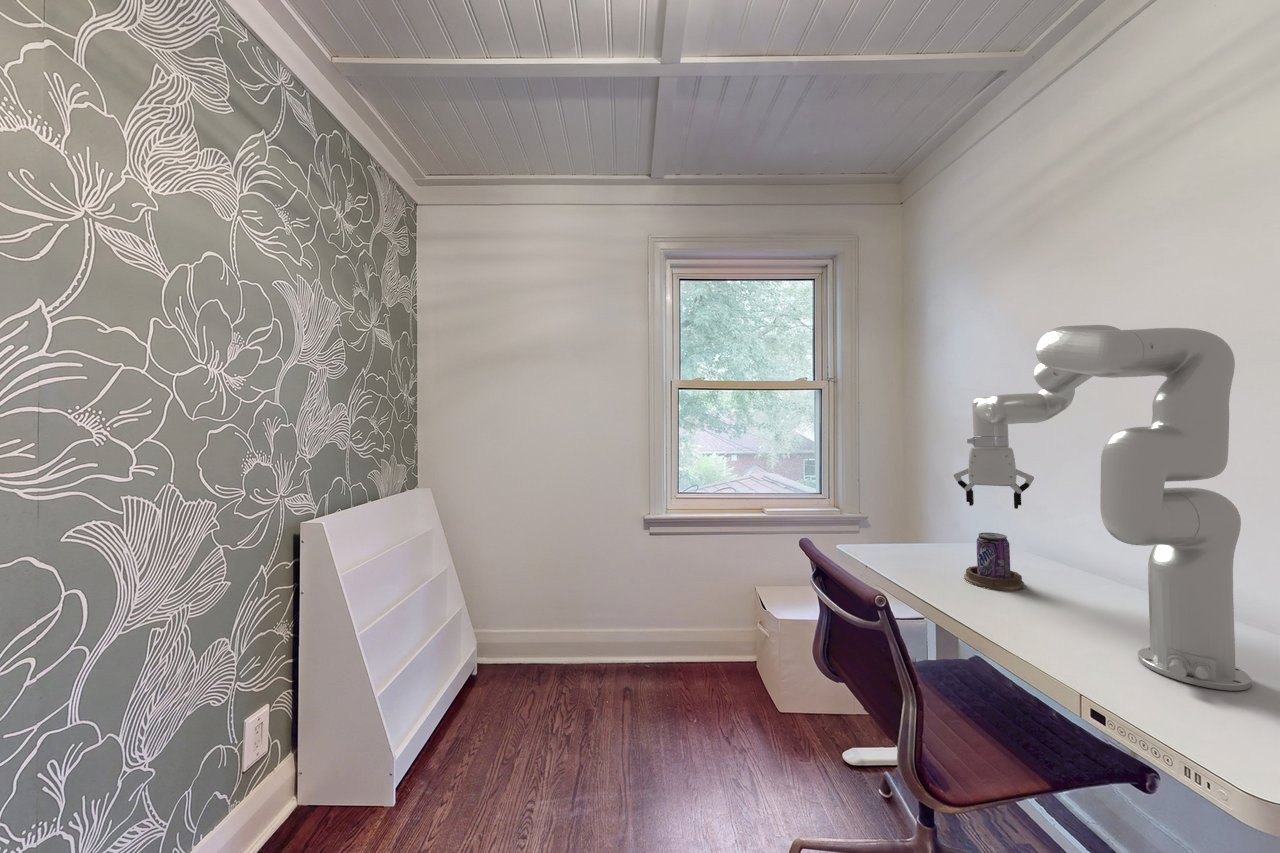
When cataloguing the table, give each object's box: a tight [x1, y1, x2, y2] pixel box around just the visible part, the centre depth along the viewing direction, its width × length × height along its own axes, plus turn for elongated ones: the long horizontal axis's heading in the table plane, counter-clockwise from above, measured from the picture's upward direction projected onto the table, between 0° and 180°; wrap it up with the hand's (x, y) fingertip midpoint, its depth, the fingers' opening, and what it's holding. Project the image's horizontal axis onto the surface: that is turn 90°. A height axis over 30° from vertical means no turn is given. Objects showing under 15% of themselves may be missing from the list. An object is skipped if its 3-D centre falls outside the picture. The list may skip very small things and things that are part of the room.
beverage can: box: [976, 532, 1011, 579], centre depth 126 cm, size 7×7×12 cm
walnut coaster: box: [963, 565, 1025, 592], centre depth 126 cm, size 13×13×3 cm
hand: (993, 506), depth 126 cm, fingers open, 9 cm apart
